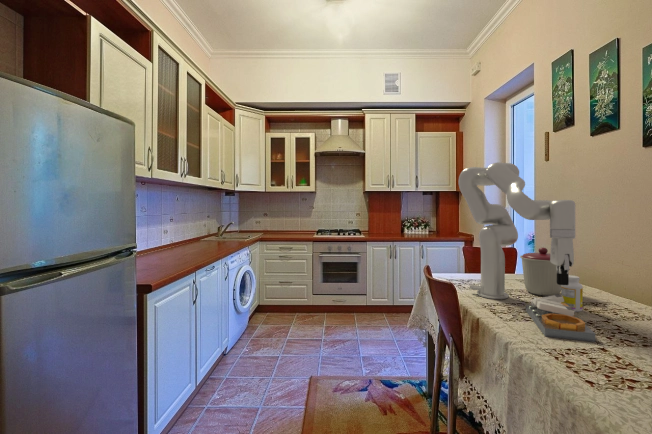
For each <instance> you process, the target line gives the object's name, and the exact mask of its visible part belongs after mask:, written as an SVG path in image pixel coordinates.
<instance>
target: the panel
mask: <svg viewBox="0 0 652 434" xmlns="http://www.w3.org/2000/svg"><path fill="white" fill-rule="evenodd" d="M525 312H526V313H527V314H528V316H529V317H530V318H531V319H532V321H533V322H534V323H535V326H536V327H537V328H538V329H539V330H540V332H542V334H543V336H544V337H548V338H557V339H564V340H565V339H566V340H572V341H573V340H575V341H583V342H593V343H596V333H595V332H594V331H593V330H592V329H591V328H590V327H589V326H588V325H586V322H585V321H584V320H582V319H581V318H579V317H577V316H576V315H575V314H574V316H573V317H572V316H568V315H564V314H559V313H555V312H550V311H546V310H542V309H538V307H533V306H532V304H525Z"/></svg>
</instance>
